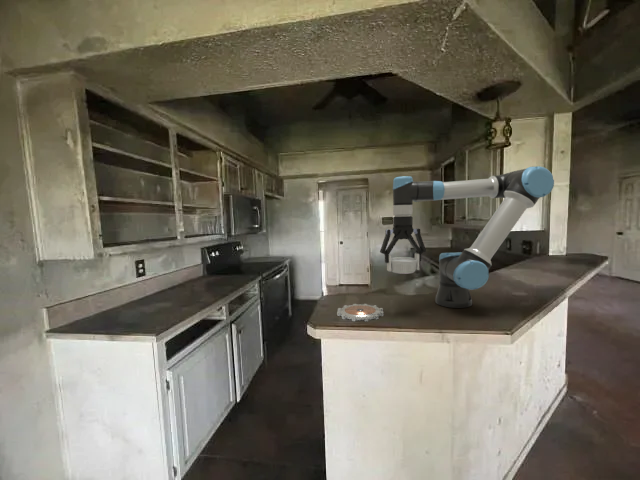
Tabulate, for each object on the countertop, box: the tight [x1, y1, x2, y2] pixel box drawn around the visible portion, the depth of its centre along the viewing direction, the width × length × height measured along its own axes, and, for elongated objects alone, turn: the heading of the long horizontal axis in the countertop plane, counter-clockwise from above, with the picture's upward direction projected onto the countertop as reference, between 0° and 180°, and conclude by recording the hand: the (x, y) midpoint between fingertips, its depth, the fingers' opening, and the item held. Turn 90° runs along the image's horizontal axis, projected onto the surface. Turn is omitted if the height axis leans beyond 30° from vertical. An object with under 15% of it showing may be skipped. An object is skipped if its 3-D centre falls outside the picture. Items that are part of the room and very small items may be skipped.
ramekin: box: [390, 256, 418, 275], centre depth 128 cm, size 11×11×5 cm
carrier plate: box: [336, 303, 385, 322], centre depth 133 cm, size 19×19×2 cm
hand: (403, 270), depth 128 cm, fingers closed on ramekin, 11 cm apart
